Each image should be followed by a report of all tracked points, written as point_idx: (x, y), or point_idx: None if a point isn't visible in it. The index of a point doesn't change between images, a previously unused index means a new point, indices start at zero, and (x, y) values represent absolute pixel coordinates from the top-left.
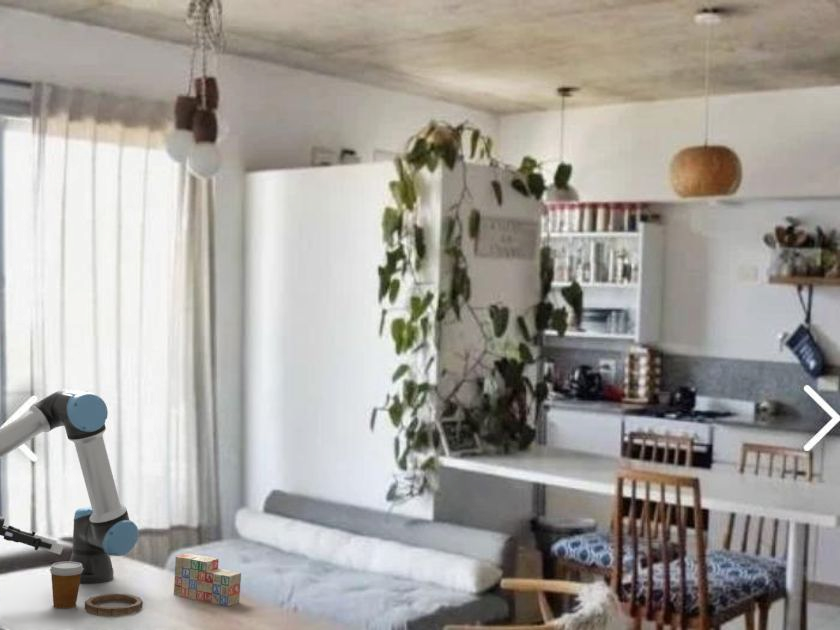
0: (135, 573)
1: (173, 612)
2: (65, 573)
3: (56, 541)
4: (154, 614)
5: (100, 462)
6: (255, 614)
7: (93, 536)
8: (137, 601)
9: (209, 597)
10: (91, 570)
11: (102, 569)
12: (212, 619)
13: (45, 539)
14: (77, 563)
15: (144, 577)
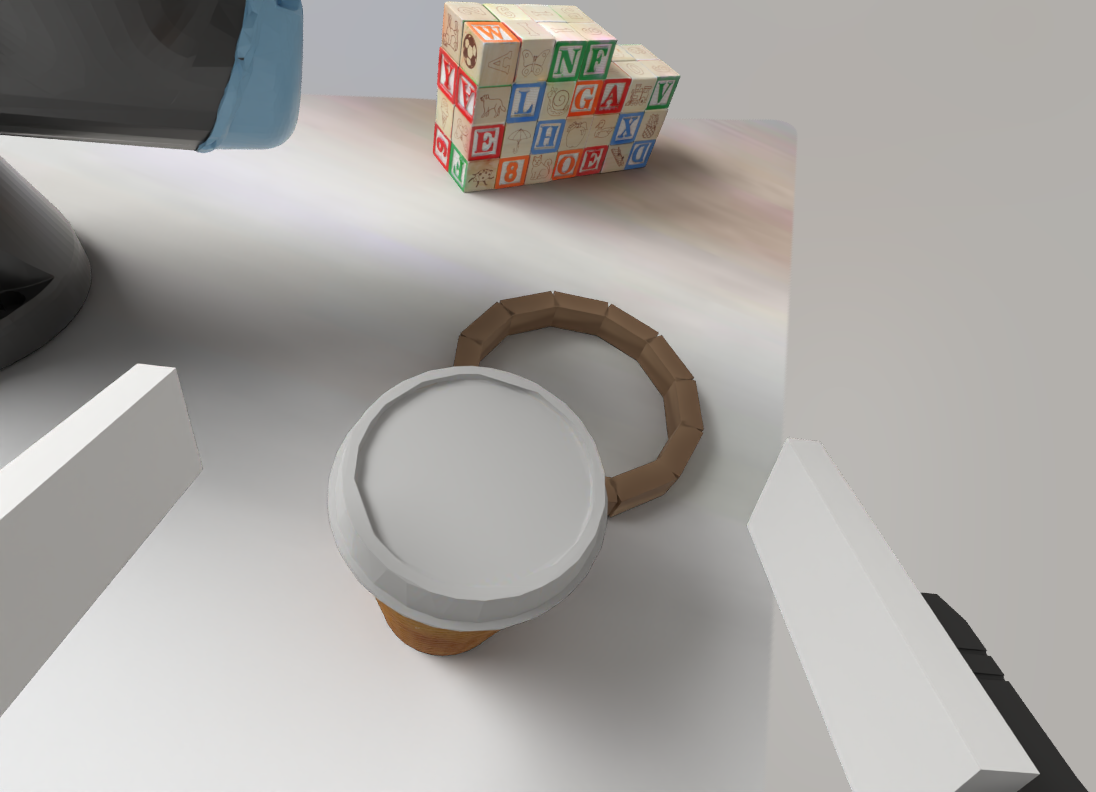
0: (44, 139)
1: (678, 277)
2: (603, 533)
3: (173, 377)
4: (692, 325)
5: None
6: (727, 163)
7: (15, 48)
8: (611, 318)
9: (595, 159)
10: (10, 268)
11: (48, 225)
12: (763, 239)
13: (61, 503)
14: (435, 381)
15: (147, 148)
